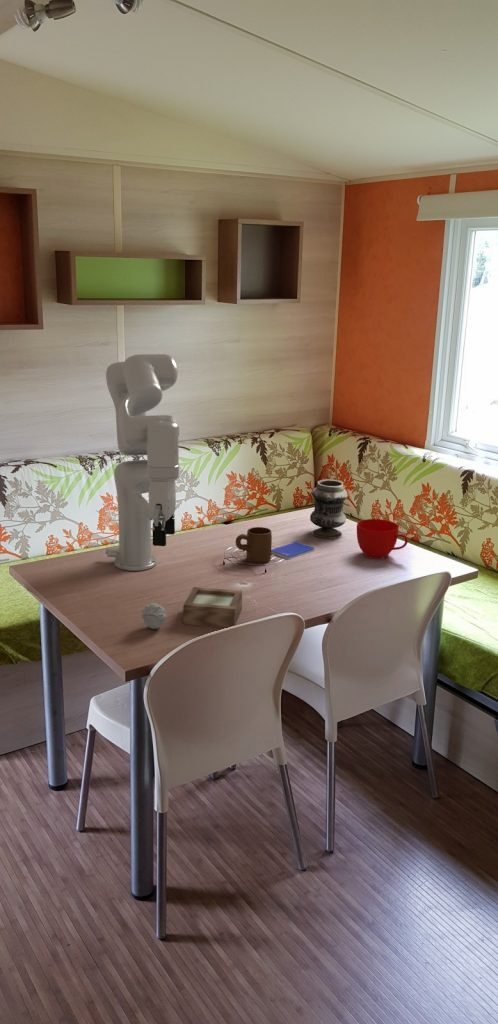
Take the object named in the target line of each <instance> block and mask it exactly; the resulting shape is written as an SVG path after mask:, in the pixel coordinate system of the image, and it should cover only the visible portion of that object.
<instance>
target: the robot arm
mask: <svg viewBox="0 0 498 1024" xmlns="http://www.w3.org/2000/svg"><path fill="white" fill-rule="evenodd" d="M105 376H106V378H105V379H106V386H107V390H108V393H109V394H110V397H111V399H112V402H113V405H114V409H115V423H116V437H117V438H116V439H117V440H116V441H117V447H118V451H119V452H120V453H121V455H124V456H128V457H129V456H131V457H133V456H134V457H137V456H139V457H140V456H147V457H146V458H147V459H140V460H139V459H137V460H135V459H134V460H126V461H123V462H120V463H118V464H117V465H116V466H115V468H114V471H113V477H114V485H115V489H116V490H115V491H116V496H117V511H118V514H117V517H118V519H117V520H118V547H117V548H111V547H107V548H106V549H105V554H106V556H107V557H108V558H110V557H111V558H113V557H114V558H115V559H114V561H113V562H114V563H113V564H114V566H115V568H117V569H119V570H124V571H130V572H131V571H133V572H134V571H135V572H136V571H137V572H138V571H145V570H149V569H151V568H154V567H155V566H156V565H157V563H158V562H157V561H158V560H157V557H156V556H154V555H152V546H155V547H166V545H167V535H171V536H173V535H175V533H176V529H175V528H176V526H175V525H176V521H175V512H176V509H177V508H176V506H177V503H176V501H177V500H176V498H177V497H176V495H177V494H176V493H177V492H176V489H177V488H176V481H177V480H179V478H180V475H179V474H180V473H179V471H180V468H179V467H180V463H179V455H180V454H179V452H180V451H179V436H180V425H179V422H178V421H177V419H176V418H175V417H174V416H172V415H168V414H165V415H164V414H163V415H162V414H161V415H159V414H158V415H155V414H154V415H146V413H147V412H149V411H151V410H153V409H154V408H157V406H158V405H159V404H160V403H161V401H162V399H163V392H165V391H166V390H168V389H170V388H172V387H173V386H174V385H175V384H176V382H177V379H178V367H177V363H176V361H175V358H174V357H172V356H171V355H169V354H165V353H164V354H163V353H162V354H161V353H159V354H157V353H156V354H154V353H153V354H152V353H150V354H147V353H145V354H134V355H131V356H129V357H127V358H126V359H125V360H124V361H118V362H114V363H111V364H109V365H108V366H107V368H106V372H105ZM142 494H148V500H147V499H146V498H145V497H144V496H143V495H142ZM152 521H153V522H152Z"/></svg>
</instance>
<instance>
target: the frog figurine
mask: <svg viewBox="0 0 498 1024" xmlns="http://www.w3.org/2000/svg"><path fill="white" fill-rule="evenodd" d="M141 618H142V620H143V622H144V624H145V625H146V626H147V628H150V629H152V630H157V629H160V628H161V627H162V626H163V625H164V624H165V622H166V619H167V612H166V610H165V608H164V607H163V606H162V605H160V604H158V603H157V602H150V603H149V604H146V605H145V606H144V608H143V610H142V614H141Z"/></svg>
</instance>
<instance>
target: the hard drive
mask: <svg viewBox="0 0 498 1024" xmlns="http://www.w3.org/2000/svg"><path fill="white" fill-rule="evenodd" d="M314 551H315V547H314V546H311V545H307V544H305V543H301V542H299V541H294V542H292V543H288V544H285V545H283V546H281V545H280V546H279V547H275V548H271V555H274V556H277V557H280V558H283V559H286V560H291V559H294V558H297V557H299V556H303V555H305V554H309V553H310V552H314Z"/></svg>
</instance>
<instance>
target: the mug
mask: <svg viewBox="0 0 498 1024" xmlns="http://www.w3.org/2000/svg"><path fill="white" fill-rule="evenodd" d="M272 535H273V534H272V530H271V529H270V528H268V527H262V526H257V527H255V526H254V527H250V528H248V529H247V533H246V534H245V533H241V534H239V535H237V537H236V538H235V545H236V548H237V549H238V550H241V551H246V552H245V553H246V559H247V561H248V562H250V563H251V564H266V563H268V562H270V561H271V559H272V554H271V550H272V545H273V544H272V541H273V540H272V539H273V538H272V537H273V536H272ZM242 540H244V541H245V540H246V543H245V544H242Z"/></svg>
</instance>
